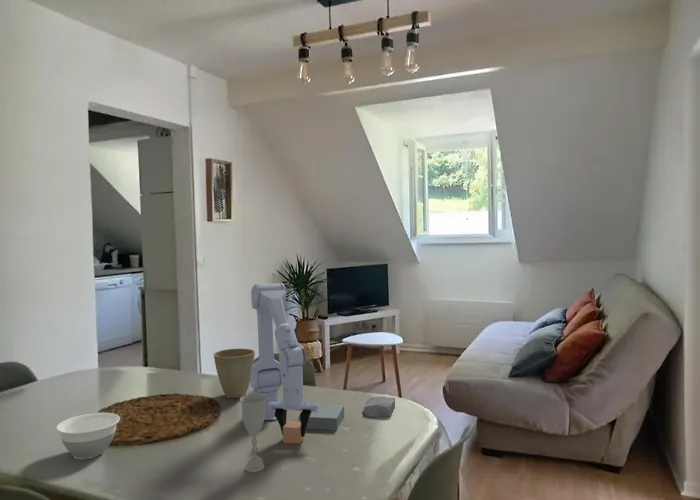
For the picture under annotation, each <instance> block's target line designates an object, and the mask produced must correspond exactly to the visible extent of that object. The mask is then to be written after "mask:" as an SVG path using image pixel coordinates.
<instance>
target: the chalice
mask: <svg viewBox="0 0 700 500" xmlns="http://www.w3.org/2000/svg"><path fill="white" fill-rule="evenodd" d="M248 394H249V393H248ZM248 394H246V395H245V396H243V397H239V400H240V403H241V415H242V417H241V419H242V421H243V425H244V427H245V428H246V431H247V433H248V434H249V435H252V439H251V445H252V446H251V447H252V448H251V449H250V450H251V451H252V456H250V457H249V458H248V460H247V462H246V465H245V467H244V470H245V471H246V472H249V473H257V472H261V471H263V470H264V469H265V468H266V466H265V464H264V462H263V459H262V458H261V457H260V456H258V455H257V451H258V448H259V447H257V443H258V440H257V435H258V434H260V432H261V430H262V427H263V424H264V422H265V420H264V419H265V401H266V398H267V396H265V395H263V394H249V395H248Z"/></svg>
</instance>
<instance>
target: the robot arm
mask: <svg viewBox="0 0 700 500" xmlns="http://www.w3.org/2000/svg"><path fill="white" fill-rule="evenodd" d="M250 292H251V293H250V296H251V298H250V300H251V308H252V309H253V310H256V316H257V317H256V318H257V320H256V321H257V338H258V339H257V340H258V345H257V346H258V359H257V360H256V361H254V364H253V365H252V366H251V374H250V383H249V385H250V387H251V388H250V390H249V392H248V394H247V395H249V394H263V395H265V396H267V398H266V401H265V419H264V421H277V422H278V424H279V427H280V431H281V433H282V436H283V426H284V425H285V424H286V423H287V414H288V413H287V412H288V411H298V412H300V414H299V415H300V419H301V437H304V435H306V431H307V429H306V426H307V423H308V420H309V417H310V415H311V412H312V411H313V412H317V411H318V410H319V409H318V404H319V402H317V403H316V402H309V401H304V388H303V386H304V385H303V384H304V380H303V375H304V374H303V366H304V365H306V362H307V360H306V359H307V358H306V357H307V356H306V355H307V354H306V351H305V348H304V346H303V345H302V344H301V342H298V338H297V336H296V333H295V330H294V327H293V326H292V325H291V324H289V323H288V318H287V314H286V309H285V305H284V304H285V302H286V297H287V290H286V286H285V285H284V283H283V282H278V283H265V284H262V283H261V284H259V283H258V284H256V283H255V284H253V286H252V287H251V291H250ZM273 323H274V326H275V327H276V329H275V330H274V326H273ZM274 336H275V339H276V342H277V343H276V344H277V346H278V349H279V353H278V355H279V356H278V360H279V361H278V360H276V359H275V352H274V351H275V350H274ZM281 386H282V400H279V390H280V388H281ZM304 438H305V437H304Z"/></svg>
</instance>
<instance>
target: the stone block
mask: <svg viewBox="0 0 700 500" xmlns="http://www.w3.org/2000/svg"><path fill="white" fill-rule="evenodd" d="M395 406H396V398H395V397H390V396H383V395H381V396H379V395H378V396H375V397H369V398H368V399H367V400H366V401H365V403H364V405H363V412H364V415H365V416H367V417H380V418H381V417H383V418H385V417H386V418H390V417H392V414H393V412H394V409H395Z"/></svg>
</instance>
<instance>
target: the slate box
mask: <svg viewBox="0 0 700 500" xmlns="http://www.w3.org/2000/svg"><path fill="white" fill-rule="evenodd" d="M318 409H319V410H318V411H317V412H313V411H312V412H311V415H310V417H309V420H308V423H307V426H306V430H327V431H328V430H329V431H330V430H331V431H338V430H339V427H340V425H341V423H342V422H343V420H344V417H345V405H343V404H342V405H341V404H322V403H321V404H320V403H318ZM298 421H300V422H301V419H300V414H299V416H298Z"/></svg>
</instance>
